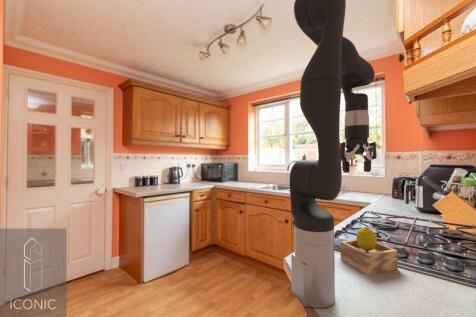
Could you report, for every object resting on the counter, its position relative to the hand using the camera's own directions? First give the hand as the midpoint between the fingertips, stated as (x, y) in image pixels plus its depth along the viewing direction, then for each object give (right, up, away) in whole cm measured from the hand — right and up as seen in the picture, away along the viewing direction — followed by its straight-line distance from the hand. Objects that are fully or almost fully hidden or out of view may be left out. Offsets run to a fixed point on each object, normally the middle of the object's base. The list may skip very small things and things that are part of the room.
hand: (357, 172), depth 79 cm
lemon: (-1, -25, -7) cm, 26 cm away
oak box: (0, -29, -7) cm, 30 cm away
